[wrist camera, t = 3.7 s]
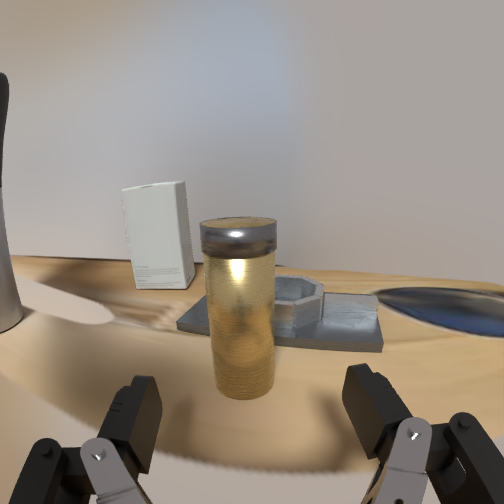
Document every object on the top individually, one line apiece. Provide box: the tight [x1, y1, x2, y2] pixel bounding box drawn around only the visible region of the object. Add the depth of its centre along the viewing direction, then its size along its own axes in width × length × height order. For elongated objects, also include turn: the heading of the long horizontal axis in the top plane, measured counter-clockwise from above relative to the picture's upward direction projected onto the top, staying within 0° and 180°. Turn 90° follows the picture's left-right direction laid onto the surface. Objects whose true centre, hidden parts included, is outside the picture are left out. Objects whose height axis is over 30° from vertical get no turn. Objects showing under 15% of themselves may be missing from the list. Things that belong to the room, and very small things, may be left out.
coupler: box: [200, 217, 277, 400], centre depth 18 cm, size 5×5×12 cm
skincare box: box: [121, 181, 195, 289], centre depth 39 cm, size 8×6×15 cm
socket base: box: [176, 274, 384, 352], centre depth 29 cm, size 20×11×4 cm, turn 74°
